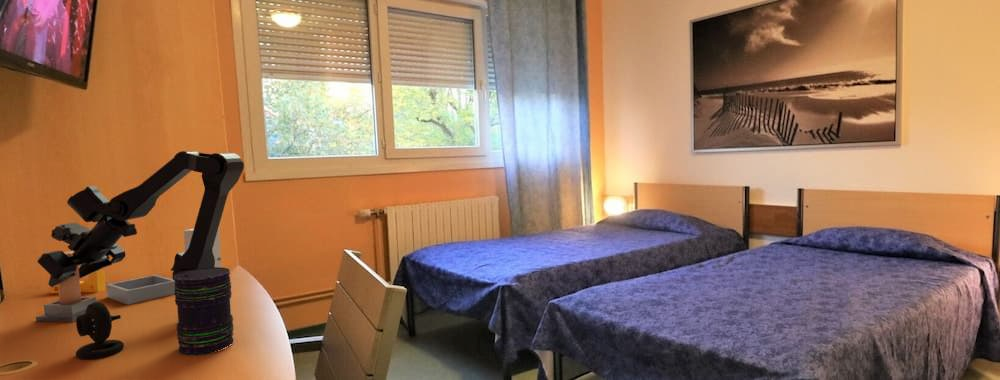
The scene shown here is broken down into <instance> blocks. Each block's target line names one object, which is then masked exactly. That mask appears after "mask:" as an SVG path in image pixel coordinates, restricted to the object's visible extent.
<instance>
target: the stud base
mask: <svg viewBox="0 0 1000 380" xmlns="http://www.w3.org/2000/svg"><path fill="white" fill-rule="evenodd" d="M81 300H82V301H79V302H77V303H74V304H60V302H59V299H58V300H54V301H51V302H49V303H46V304H43V311H44V313H43V314H40V315H37V316H35V322H55V323H57V322H58V323H60V322H61V323H73V322H76V318H77V316H79V315H84V314H85V312H86V308H87V306H88V305H90V304H92V303H94V302H97V297H96V296H81Z"/></svg>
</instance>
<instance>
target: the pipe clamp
mask: <svg viewBox="0 0 1000 380" xmlns="http://www.w3.org/2000/svg"><path fill="white" fill-rule="evenodd" d="M105 276H106V275H105V268H103V269H100V270H98V271H96V272H94V273H91V274H89V275H88V277H87V279H85V281H82V280H80V291H81V293H100V292H103V291H105V290H106V291H107V286H106V277H105ZM50 291H51V292H50V293H51V294H52V293H59V290H58V285H56V286H54V287H51V286H50Z"/></svg>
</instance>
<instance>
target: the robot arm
mask: <svg viewBox="0 0 1000 380" xmlns="http://www.w3.org/2000/svg"><path fill="white" fill-rule="evenodd" d="M244 168H245V164H244V161H243V160H242V157H240V156H239V154H236V153H234V152H216V153H215V152H214V153H204V152H198V151H195V150H183V151H182V150H180V151H179V152H177V153H176V154H175V155H174V156H173V157H172V158H171V159H170V160H169V161H167V162H166V163H165V164H164V165H162V167H160V168H159V169H158V170H156V171H155V172H154V173H153V174H152V175H150V176H149V177H147V178H146V179H145V180H144V181H143V182H142V183H140V184H139V185H137V186H136V187H133V188H131V189H128V190H125V191H122V192H121V193H119V194H117V195H116V196H113V197H112V198H110V200H109V199H108V198H107V197H106V196H105V194H103V193H102V192H100V190H99V189H98V187H96V185H90V186H87V187H85V188H84V189H82V190H80V191H78V192H76V193H75V194H74V195H70V197H69V198H68V199H67V202H66V203H67V204H66V205H68V206H69V207H70V208H71V209H72V210H73V211H74V212H75V213H76V214H77V215H78V216H79V217H80V218H81V219H82V220H83V221H84V222H86V223H90V222H91V223H96V224H94V225H93V227H91V229H90V228H88V227H86V226H84V225H82V224H80V223H78V222H68V223H62V224H59V225H57V226H55V228H54V229H52V230H51V234H50V236H51V238H53V239H54V240H56V241H59V242H64V243H66V244H67V249H68V250H69V251H70V252H71V251H74V253H72V255H73V256H71V257H68V256H67V255H66V254H65V253H64V252H65V251H63V250H53V251H48V252H44V253H42V254H41V255H40V256H39V258H37V263H38V264H39V265H40V266H41V267H42V268H43V269H44V270H45V271H46V272H47V273H48V274H49V275H50V277H49V280H48V286H50V288H51V287H54V286H56V285H58V284H60V283H62V282H64V281H65V280H67V279H69V278H71V277H73V276H75V275H76V274H75V273H74V272H75V271H76V268H77V266H79V278H80V279H82V278H84V277H86V276H89V274H91V273H94V272H96V271H98V270H100V269H103V268H104V269H105V268H107V267H110V266H112V265H113V264H117V263H120V262H122V261H123V260H124V259H125V258H126V251H125V250H124V249H123V247H121V245H120V244H118V243H117V242H118V241H119V240H120V239H121V238H122V237H123V238H127V237H131V236H135V235H138V230H137V228H136V224H135V223H131V222H129V220H133V219H135V220H136V219H139V218H144V217H146V216H147V215H148V214H149V213H150V212H151V211H152V209H154V207H155V206H156V203H157V200H158V199H159V198H160V196H162V195H163V194H164V193H166V192H167V191H168V190H170V189H171V188H172V187H173V186H175V185H176V184H177V183H178V182H179V181H181V180H182V179H183V178H185V177H186V176H187V175H188V174H189V173H191V172H192V171H193V172H195V173H201V180H202V184H203V187H204V191H203V194H202V198H201V202H200V206H199V208H198V213H197V217H196V220H195V224H194V227H193V229H194V230H193V234H192V237H191V241H190V245H189V247H188V249H187V250H186V251H185V250H184V251H181V252H178V253H175V256H174V261H173V266H172V267H171V269H170V271H171V272H172V275H171V276H172V279H173V280H174V276H175V275H176V274H178V273H180V272H184V271H188V270H193V269H199V268H210V267H215V258H214V255H213V251H212V249H213V245H214V242H215V238H216V235H217V231H218V227H219V228H220V223H221V221H222V220H221V219H222V216H223V213H224V209H225V206H226V202H227V200H228V199H227V198H228V195H229V193H230V191H232V189H233V188H234V187H235V185H236V184H237V183H238V181H239V180H240V178H241V175H242V174H243V172H244ZM111 257H112V258H111ZM110 258H111V259H110Z"/></svg>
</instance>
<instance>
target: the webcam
mask: <svg viewBox="0 0 1000 380" xmlns="http://www.w3.org/2000/svg"><path fill="white" fill-rule="evenodd" d="M119 319H121V315H120V314H119V315H118V314H117V315H111V313H110V311H109V309H108V307H107V306H106V305H105V304H104V303H103V302H101V301H96V302H94V303H92V304H90V305H88V306H87V308H86V312H85V314H84V315H79V316H77V318H76V321H75V325H76V330H77V334H78V335H79V336H80V337H81V338H83V337H85V336H89V337H90V338H91V340H92V341H93V342H90V343H88V344H85V345H83V346H81V347H79V348H78V349H77V350H76V351H75V356H76V358H78V359H79V360H95V359H101V358H106V357H109V356H113V355H116V354H117V353H118V352H120V351H122V350H123V349H124V347H125V345H124V344H125V343H124V342H123V341H121V340H119V339H109V338H110V336H111V334H112V333H111V331H112V325H113V323H112V322H113V321H115V320H119ZM102 348H103V349H102ZM104 348H105V349H104ZM98 349H100V350H98Z"/></svg>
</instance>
